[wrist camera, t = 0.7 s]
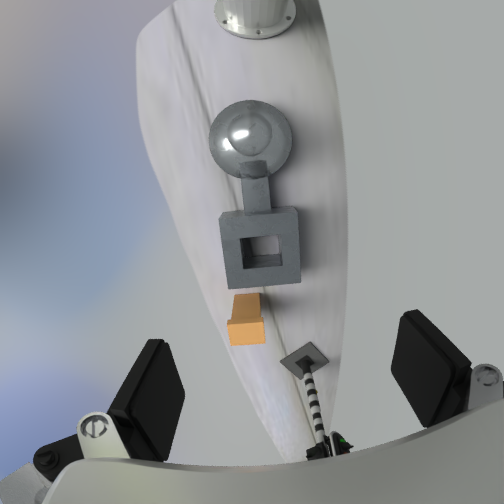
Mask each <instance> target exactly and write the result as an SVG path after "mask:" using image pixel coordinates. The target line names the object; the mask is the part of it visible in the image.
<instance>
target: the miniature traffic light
mask: <svg viewBox="0 0 504 504" xmlns="http://www.w3.org/2000/svg"><path fill="white" fill-rule="evenodd" d="M280 363H282V364H283V365H284V366H285V367H286V368H287V369H288V370H289V371H291V372H292V373H293V374H294V375H295V376H296V377H298V378H299V379H300V380H301V379H303V378H304V380H305V385H306V390H307V395H308V399H309V404H310V409H311V413H312V415H313V420H314V425H315V430H316V435H317V440H318V444H316V446H315V447H312V448H310V449H308V450H306V452H307V456H306V458H307V459H308V461H310V460H316V459H322V458H328V457H330V456H331V457H333V456H338V455H343V454H347V453H350V451H349V449H350V448H352V447H353V446H351V445H350V444H349V443H348V442H346V441H345V440H344V438H343V437H342V436H341V435H340V434H339V433H337V432H335V431H332V432H331V433H330V435H329V436H328V437H327V436H326V435H325V431H324V427H323V422H322V418H321V414H320V411H321V410H320V405H319V401H318V397H317V390H316V389H315V384H314V380H313V376H312V373H313V372H315V371H316V370H318V369H319V368H321V367H323V366H324V365H326V364H327V363H329V361H328V360H327V359H326V358H325V357H324V356H323V355H322V354H321V353H320V352H319V351H318V350H317V349H316V348H315V347H314V346H313V345H312V344H311V342H309V343H307V344H306V345H304V346H303V347H301V348H300V349H298V350H296V351H295V352H293V353H292V354H290V355H289V356H287V357H285V358H284V359H282V360H281V361H280ZM329 440H330V441H329ZM328 447H329V450H328ZM329 451H330V454H329Z"/></svg>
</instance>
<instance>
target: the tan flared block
mask: <svg viewBox="0 0 504 504" xmlns="http://www.w3.org/2000/svg"><path fill="white" fill-rule="evenodd" d="M227 328H228V333H229V339H230V344H231V346H235V345H250V344H263V343H265V332H264V322H263V317H261V306H260V296H259V293H252V294H240V295H234V303H233V310H232V317H231V320H228V321H227Z"/></svg>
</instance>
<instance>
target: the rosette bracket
mask: <svg viewBox="0 0 504 504" xmlns="http://www.w3.org/2000/svg"><path fill="white" fill-rule="evenodd" d="M209 147H210V151H211V154H212V156H213V158H214V160H215V162H216V163H217V164H218V165H219V167H220V168H222V169H223V170H224V171H225V172H227V173H228V174H230V175H232V176H234V177H237V178H241V185H242V195H243V204H244V210H242V211H232V212H223V213H222V215H221V216H220V218H219V226H220V233H221V241H222V248H223V255H224V262H225V269H226V276H227V283H228V289H239V288H250V287H262V286H272V285H283V284H293V283H301V268H300V245H299V227H298V212H297V211H296V209H295V208H294V207H293V206H285V207H273V208H271V204H270V193H269V182H268V176H269V175H271V174H273V173H274V172H276V171H277V170H278V169H279V168H280V167H281V166H282V165H283V164H284V163H285V161H286V160H287V158H288V156H289V154H290V151H291V147H292V133H291V129H290V126H289V124H288V122H287V120H286V118H285V117H284V116H283V115H282V113H281V112H280V111H278V110H277V109H276V108H275V107H273V106H271V105H269V104H267V103H264V102H261V101H255V100H245V101H240V102H237V103H234V104H232V105H230V106H228V107H226V108H225V109H224V110H223V111H221V112H220V114H219V115H218V116H217V117H216V118H215V120H214V122H213V124H212V126H211V129H210V133H209ZM268 235H278V239H279V252H280V254H273V255H263V256H252V257H244V249H243V241H242V238H247V237H258V236H268Z"/></svg>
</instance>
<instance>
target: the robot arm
mask: <svg viewBox="0 0 504 504" xmlns="http://www.w3.org/2000/svg"><path fill="white" fill-rule="evenodd" d="M214 13H215V17H216V19H217V22H218V23H219V24H220V26H221V27H222V28H223V29H225V30H226V31H228V32H229V33H231V34H233V35H236V36H239V37H243V38H250V39H262V38H268V37H272V36H275V35H278V34H280V33H282V32H284V31H285V30H286V29H288V28H289V27H290V25H291V24H292V23H293V21H294V19H295V15H296V6H295V3H294V1H293V0H217V1H216V4H215V7H214ZM259 34H260V35H259ZM471 364H472V363H471V361H470V360H469V359H468V358H467V357H466V356H465V355H464V354H463V353H462V352H461V351H460V350H459V349H458V348H457V347H456V346H455V345H454V344H453V343H452V342H451V341H450V340H449V339H448V338H447V337H446V336H445V335H444V334H443V333H442V332H441V331H440V330H439V329H438V328H437V327H436V326H435V325H434V324H433V323H432V322H431V321H430V320H429V319H428V318H426V317H425V316H424V315H423V314H422V313H421V312H420V311H419V310H418V309H416V310H411V311H407V312H405V313H404V314H403V316H402V317H401V318H400V323H399V329H398V335H397V340H396V345H395V350H394V355H393V360H392V365H391V372H392V374H393V376H394V378H395V380H396V381H397V383H398V385H399V386H400V388H401V390H402V391H403V393H404V395H405V396H406V398H407V400H408V402H409V403H410V405H411V407H412V408H413V410H414V412H415V414H416V415H417V417H418V419H419V420H420V423H421V424H422V425H423V427H427V429H424V430H422V431H419V432H417V433H414V434H411V435H409V436H406V437H403V438H400V439H397V440H394V441H391V442H388V443H385V444H381V445H378V446H375V447H371V448H367V449H363V450H360V451H356V452H352V453H347V454H343V455H338V456H333V457H328V458H322V459H316V460H310V461H303V462H296V463H287V464H277V465H264V466H242V467H241V466H236V467H235V466H234V467H227V466H226V467H225V466H224V467H223V466H198V465H182V464H172V463H163V461H167V460H168V457H169V454H170V450H171V446H172V442H173V439H174V435H175V431H176V427H177V424H178V420H179V417H180V413H181V410H182V406H183V402H184V399H185V391H184V388H183V385H182V382H181V380H180V377H179V374H178V371H177V368H176V365H175V362H174V359H173V356H172V353H171V350H170V346H169V344H168V343H165V342H164V340H163V339H149V340H148V341H147V343H146V344H145V346H144V348H143V349H142V351H141V353H140V355H139V356H138V358H137V360H136V361H135V363H134V365H133V367H132V368H131V370H130V372H129V373H128V375H127V377H126V379H125V381H124V382H123V384H122V386H121V388H120V389H119V391H118V393H117V395H116V397H115V398H114V400H113V402H112V404H111V406H110V408H109V410H108V411H107V413H103V412H92V413H89V414H87V415H85V416H84V417H83V418H81V419H80V421H79V422H78V425H77V434H74V435H72V436H69V437H67V438H64V439H62V440H59V441H56V442H54V443H51V444H48V445H45V446H43V447H41V448H39V449H38V450H37V451H36V453H35V454H34V458H33V464H30V462H28V463H27V464H25V465H24V466H22V467H21V468H19V469H18V470H16V471H15V472H13V473H12V474H10V475H9V476H7V477H6V478H4V479H3V480H1V481H0V498H1V500H2V502H3V504H504V381H503V377H502V373H501V372H500V370H499V369H498V368H497V367H495V366H493V365H490V364H480V365H478V366H476V367H474V369H472V368H471V367H470V366H471Z"/></svg>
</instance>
